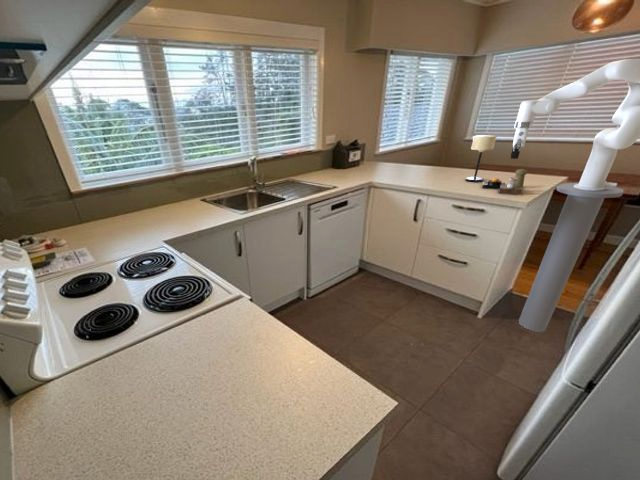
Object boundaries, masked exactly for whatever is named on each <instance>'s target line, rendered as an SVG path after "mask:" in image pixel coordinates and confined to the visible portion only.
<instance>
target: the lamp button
mask: <svg viewBox="0 0 640 480" xmlns="http://www.w3.org/2000/svg"><path fill="white" fill-rule="evenodd" d="M491 180H492V181H493V182H498V181H499V180H500V178H498V177H493V178H491Z"/></svg>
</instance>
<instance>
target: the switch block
mask: <svg viewBox="0 0 640 480" xmlns="http://www.w3.org/2000/svg"><path fill="white" fill-rule="evenodd" d="M482 183H483V184H482V189H490V190H491V189H492V190H499V189H500V185H506V182H502V180H500V179H499V181H498V182H493V181H492V179H489V180H488V181H483V182H482Z"/></svg>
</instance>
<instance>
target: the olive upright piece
mask: <svg viewBox="0 0 640 480" xmlns="http://www.w3.org/2000/svg"><path fill="white" fill-rule="evenodd" d="M527 173H528V170H527V169H523V168H521V169H520V168H519V169H517V170H516V171H515V176H514V178H518V181H517V184H516V186H522V189H523V188H524V182H525V176H526V175H527Z"/></svg>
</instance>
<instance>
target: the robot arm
mask: <svg viewBox="0 0 640 480" xmlns="http://www.w3.org/2000/svg"><path fill="white" fill-rule="evenodd" d="M614 81H625V82H626V83H627V86H628V92H627V94H626V96H625V98H624V99H623V101H622V102H621V104H620V105H619V107H618V108H617V109H616V111H615V112H614V114H612V118H611V121H612V123H613V124H614V125H617V126H619V127H607V128H604V129H602V130H601V131H599V132H598V133H597V134H596V135H595V137H594V139H593V143H592V148H591V151H590V155H589V157H588V159H587V162H586V164H585V167H584V169H583V171H582V174H581V177H580V180H579V181H578V183H579V184H575V185H574V188H576V189H581V190H589V191H602V190H606V187H607V186H611V187H618V186H617V185H618V182H610V181H607V177H608V176H609V173H610V171H611V168H612V166H613V164H614V161H615V159H616V158H617V155H618V150H624V149H627V148H629V147H631V146H633V144H635V143H636V142H637V140H638V139H639V138H640V59H638V58H637V59H636V58H629V59H620V60H615V61H611V62H608V63H607V64H605V65H603V66H601V67H599V68H597V69H595V70H594V71H592V72H590V73H588V74H587V75H584V76H583V77H581V78H579V79H577V80H575V81H573V82H571V83H568V84H566V85H564V86H562V87H560V88H558V89H556V90H554V91H552V92H549V93H547V94H546V95H544V96H542V97H540V98H539V99H532V100H523V101H522V102H521V103H520V106H519V109H518V113H517V116H516V120H515V123H514V127H513V129H515V133H514V137H513V142H512V147H513V148H512V149H511V152H510V160H518V159H519V156H520V152H521V148H524V147H525V145H526V141H527V137H528V135H529V130H530V129H532V128H533V126H534V121H535V118H536V115H550V114H553V113H555V112H556V111H558V109H559V108H560V104H562V103H563V102H564V103H565V102H566V101H570V100H574V99H577V98H581V97H584V96H586V95H588V94H590V93H592V92H593V91H595V90H597V89H600V88H601V87H603V86H605V85H608V84H609V83H611V82H614Z"/></svg>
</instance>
